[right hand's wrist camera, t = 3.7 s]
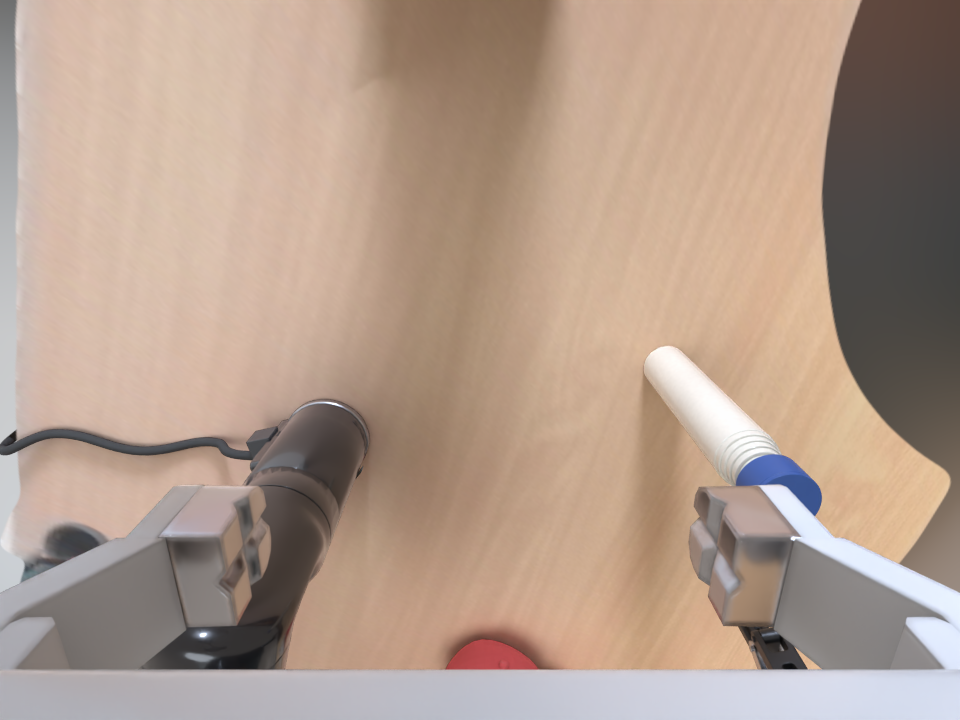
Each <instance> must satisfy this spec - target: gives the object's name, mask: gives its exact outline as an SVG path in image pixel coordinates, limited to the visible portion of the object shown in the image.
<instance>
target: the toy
mask: <svg viewBox="0 0 960 720" xmlns="http://www.w3.org/2000/svg"><path fill="white" fill-rule="evenodd" d="M445 670H539V669H538V668H537V666H536V665H535V664H534V663H533V662H532V661H531V660H530V659H529V658H528V657H527V656H525V655H524V654H523V653H521V652H520V651H518V650H516V649H515V648H513V647H511V646H509V645H506V644H504V643H501V642H498V641H494V640H486V639H481V640H477V641H473V642H471V643H469V644H468V645H466V646H464V647H463V648H462V649H461V650H460V651H458V652H457V654H456V655H455V656H454V657H453V658H452V660H451V661H450V662H449V664H448V665H447V667H446V669H445Z"/></svg>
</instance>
